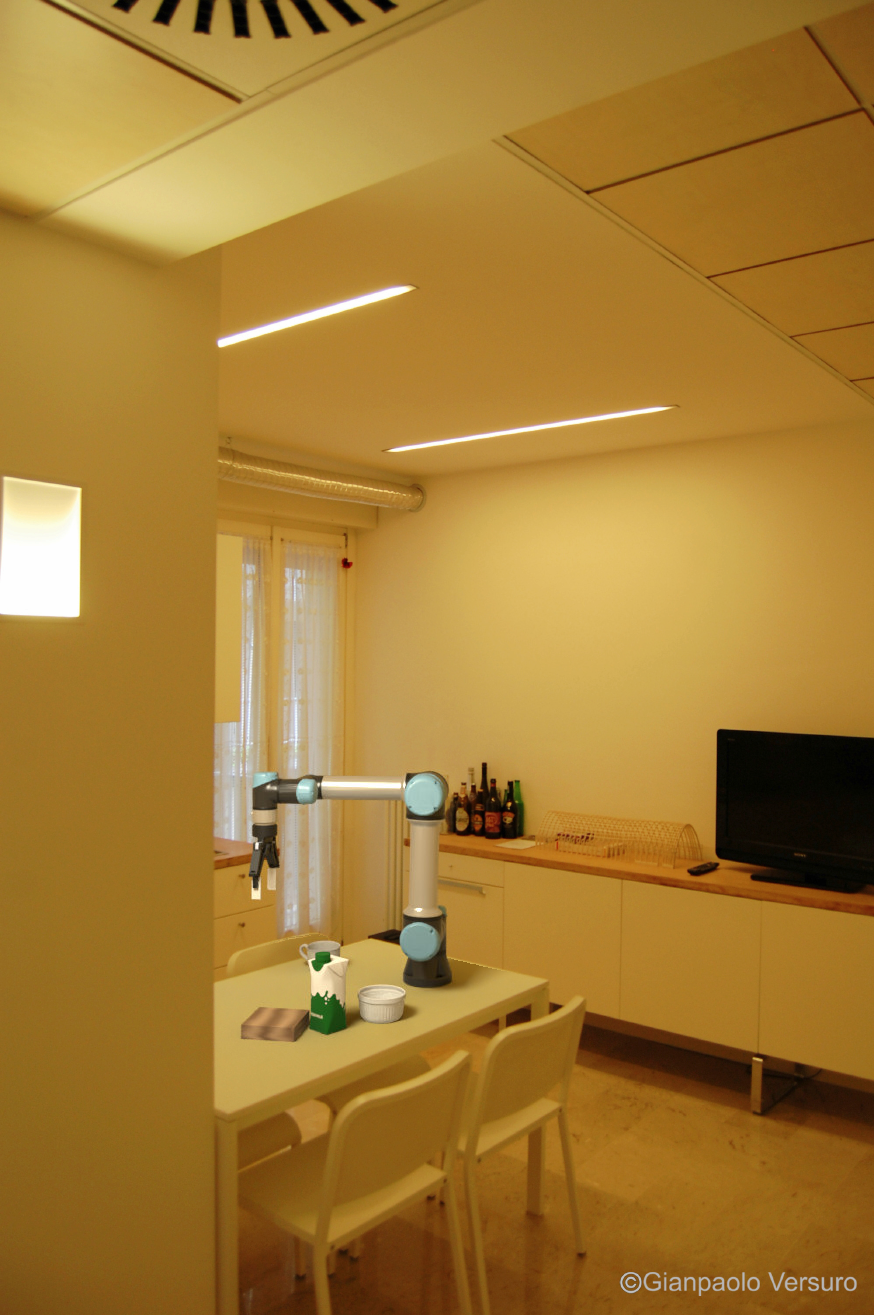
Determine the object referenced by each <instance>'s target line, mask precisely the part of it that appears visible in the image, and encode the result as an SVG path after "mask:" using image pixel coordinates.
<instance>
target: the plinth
mask: <svg viewBox="0 0 874 1315" xmlns="http://www.w3.org/2000/svg"><path fill="white" fill-rule="evenodd" d="M310 1012H311V1009H303V1008H282V1007H267V1006H266V1007H264V1006H263V1007H262V1006H259V1007H258V1008H257V1009H255V1011H254V1012H253V1013H252V1014H251V1015H249V1017H248V1018H246V1019H245V1020H244V1021H243V1022H242V1023H241V1025H240V1039H241V1040H254V1041H255V1040H256V1041H270V1042H282V1043H283V1042H287V1043H288V1042H289V1043H295V1041H296V1040H297V1039H298V1038H299V1036H300V1035H301V1034H303V1032H304V1031H305V1029H306V1028H307V1027H309V1025H310Z"/></svg>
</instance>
